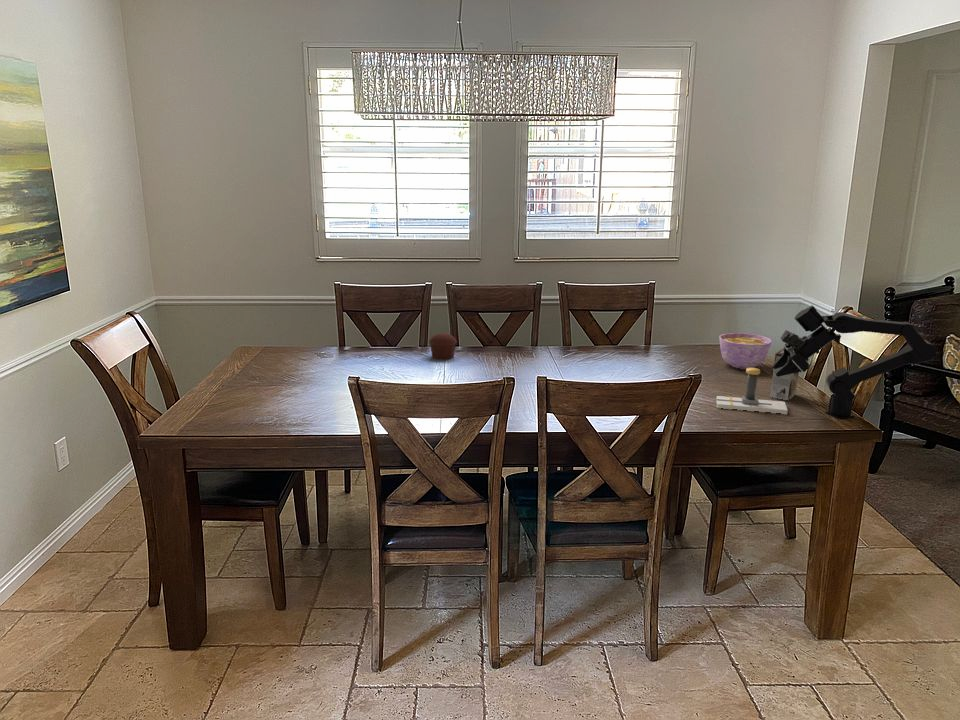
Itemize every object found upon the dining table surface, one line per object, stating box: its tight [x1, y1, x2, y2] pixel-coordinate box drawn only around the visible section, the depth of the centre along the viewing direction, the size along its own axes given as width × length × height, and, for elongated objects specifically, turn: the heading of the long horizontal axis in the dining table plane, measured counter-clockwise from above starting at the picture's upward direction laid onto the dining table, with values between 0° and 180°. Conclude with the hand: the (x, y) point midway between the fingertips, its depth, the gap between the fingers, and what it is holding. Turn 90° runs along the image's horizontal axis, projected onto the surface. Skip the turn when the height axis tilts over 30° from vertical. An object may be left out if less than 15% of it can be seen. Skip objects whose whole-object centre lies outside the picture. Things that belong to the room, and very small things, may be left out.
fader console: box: [715, 395, 788, 415], centre depth 247 cm, size 22×9×2 cm, turn 74°
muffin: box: [428, 332, 458, 361], centre depth 306 cm, size 12×11×10 cm
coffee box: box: [769, 348, 800, 401], centre depth 257 cm, size 9×6×16 cm
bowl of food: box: [718, 332, 773, 370], centre depth 294 cm, size 20×20×12 cm
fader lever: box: [741, 367, 761, 404], centre depth 245 cm, size 5×4×11 cm
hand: (775, 371), depth 242 cm, fingers open, 9 cm apart
